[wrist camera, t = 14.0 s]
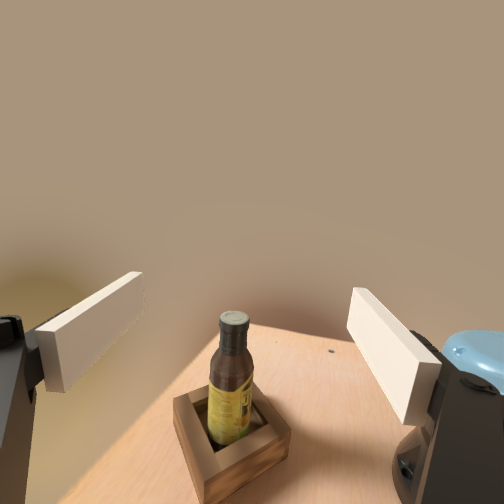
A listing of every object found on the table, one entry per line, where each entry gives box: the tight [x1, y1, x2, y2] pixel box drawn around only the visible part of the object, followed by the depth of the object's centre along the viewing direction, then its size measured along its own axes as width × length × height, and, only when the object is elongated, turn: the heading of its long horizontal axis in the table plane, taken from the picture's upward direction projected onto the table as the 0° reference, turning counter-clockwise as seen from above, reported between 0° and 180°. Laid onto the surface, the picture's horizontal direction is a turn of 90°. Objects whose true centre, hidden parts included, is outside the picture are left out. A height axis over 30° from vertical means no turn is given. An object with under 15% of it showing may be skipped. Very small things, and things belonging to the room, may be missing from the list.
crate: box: [173, 382, 291, 504], centre depth 37 cm, size 13×13×5 cm
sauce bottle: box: [208, 311, 254, 452], centre depth 35 cm, size 6×6×20 cm
